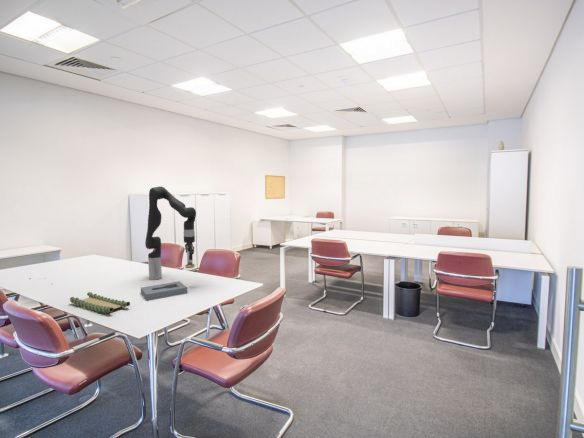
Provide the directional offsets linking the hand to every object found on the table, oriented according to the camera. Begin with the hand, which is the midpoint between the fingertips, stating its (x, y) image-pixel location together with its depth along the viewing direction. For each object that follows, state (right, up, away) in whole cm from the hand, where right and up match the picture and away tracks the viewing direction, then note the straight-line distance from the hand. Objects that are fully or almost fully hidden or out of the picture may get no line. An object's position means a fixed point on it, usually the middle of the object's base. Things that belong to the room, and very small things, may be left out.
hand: (189, 259), depth 234 cm
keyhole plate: (-14, -22, -11) cm, 28 cm away
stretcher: (-44, -25, -36) cm, 62 cm away
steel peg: (0, -6, +1) cm, 6 cm away
